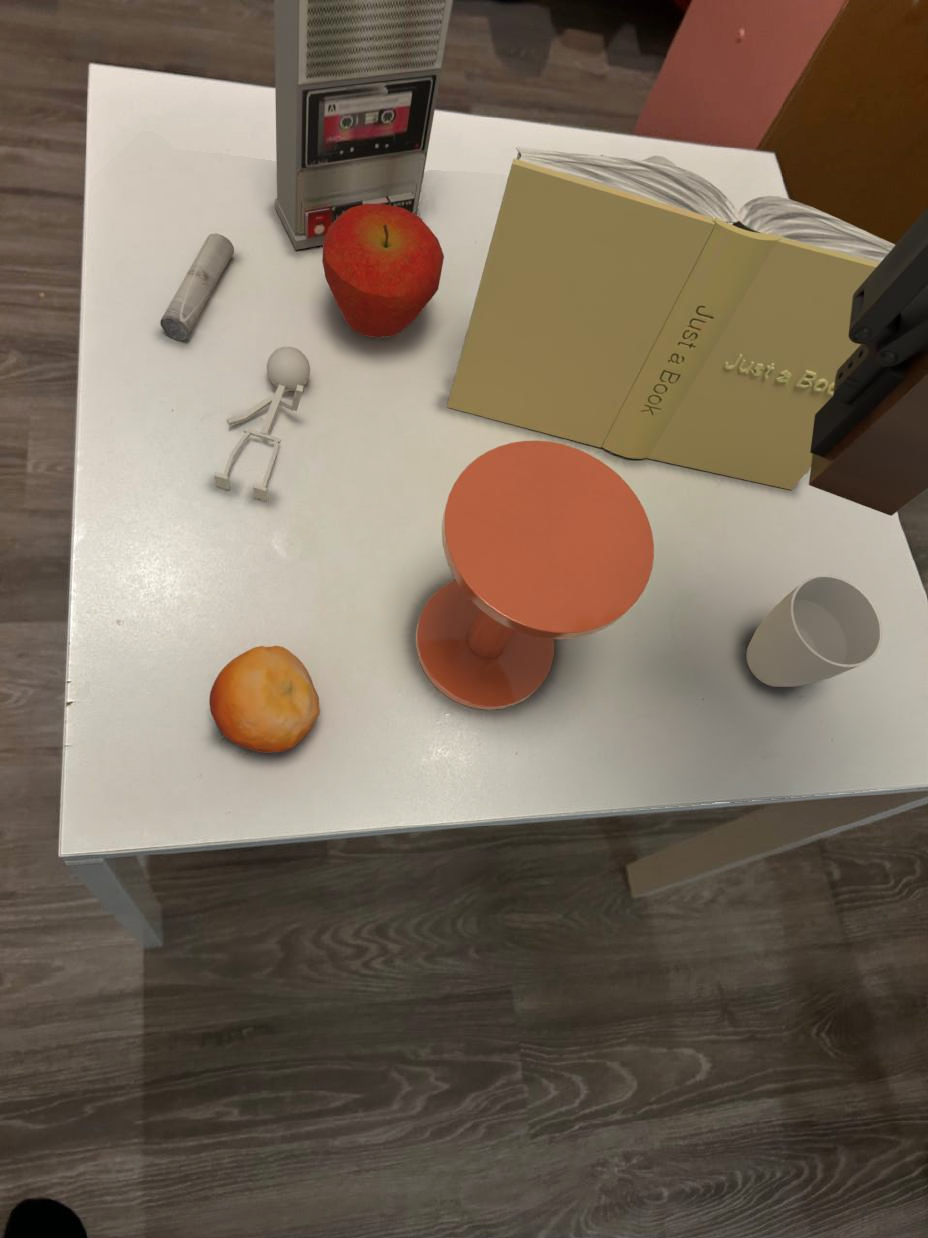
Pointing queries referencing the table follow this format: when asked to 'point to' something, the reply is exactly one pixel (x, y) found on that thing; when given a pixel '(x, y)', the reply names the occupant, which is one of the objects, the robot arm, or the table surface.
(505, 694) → the orange pedestal stand
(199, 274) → the rod
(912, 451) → the walnut block
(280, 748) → the fruit
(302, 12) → the cassette tape recorder
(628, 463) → the table surface
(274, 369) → the figurine
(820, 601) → the cup
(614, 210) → the book
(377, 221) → the apple
